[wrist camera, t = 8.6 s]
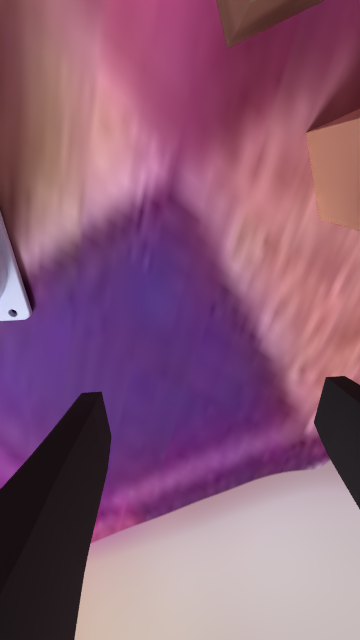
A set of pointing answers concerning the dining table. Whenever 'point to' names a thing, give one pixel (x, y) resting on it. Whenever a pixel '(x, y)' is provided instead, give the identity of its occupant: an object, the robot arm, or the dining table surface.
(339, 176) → the terracotta cube
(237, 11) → the walnut base
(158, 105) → the dining table surface
